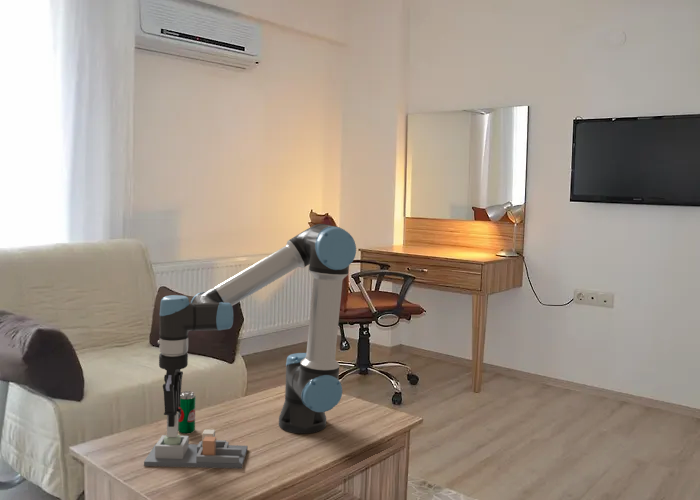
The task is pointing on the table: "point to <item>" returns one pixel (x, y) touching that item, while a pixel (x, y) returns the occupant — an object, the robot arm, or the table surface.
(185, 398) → the soda can
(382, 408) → the table surface
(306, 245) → the robot arm
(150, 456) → the panel
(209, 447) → the knob terracotta
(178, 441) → the button
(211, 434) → the knob cream
